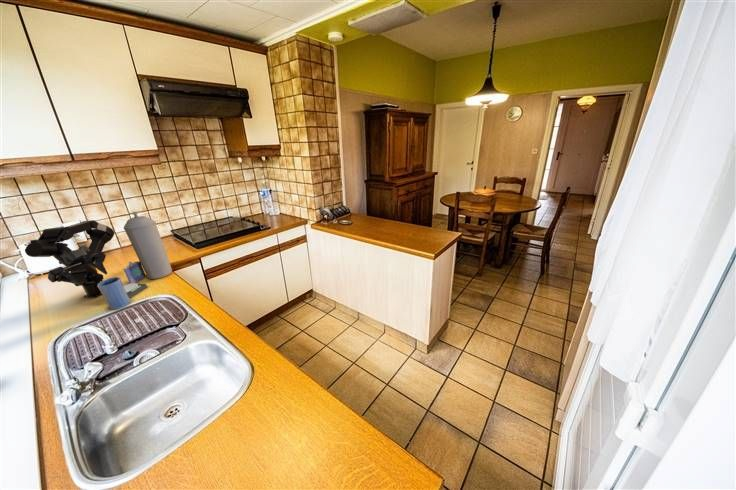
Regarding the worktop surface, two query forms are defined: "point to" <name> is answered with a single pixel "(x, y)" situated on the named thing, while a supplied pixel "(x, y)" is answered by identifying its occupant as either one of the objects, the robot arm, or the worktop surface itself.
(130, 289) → the scale
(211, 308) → the worktop surface
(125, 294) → the blue cup
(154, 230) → the canister
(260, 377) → the worktop surface
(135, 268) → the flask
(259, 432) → the worktop surface
